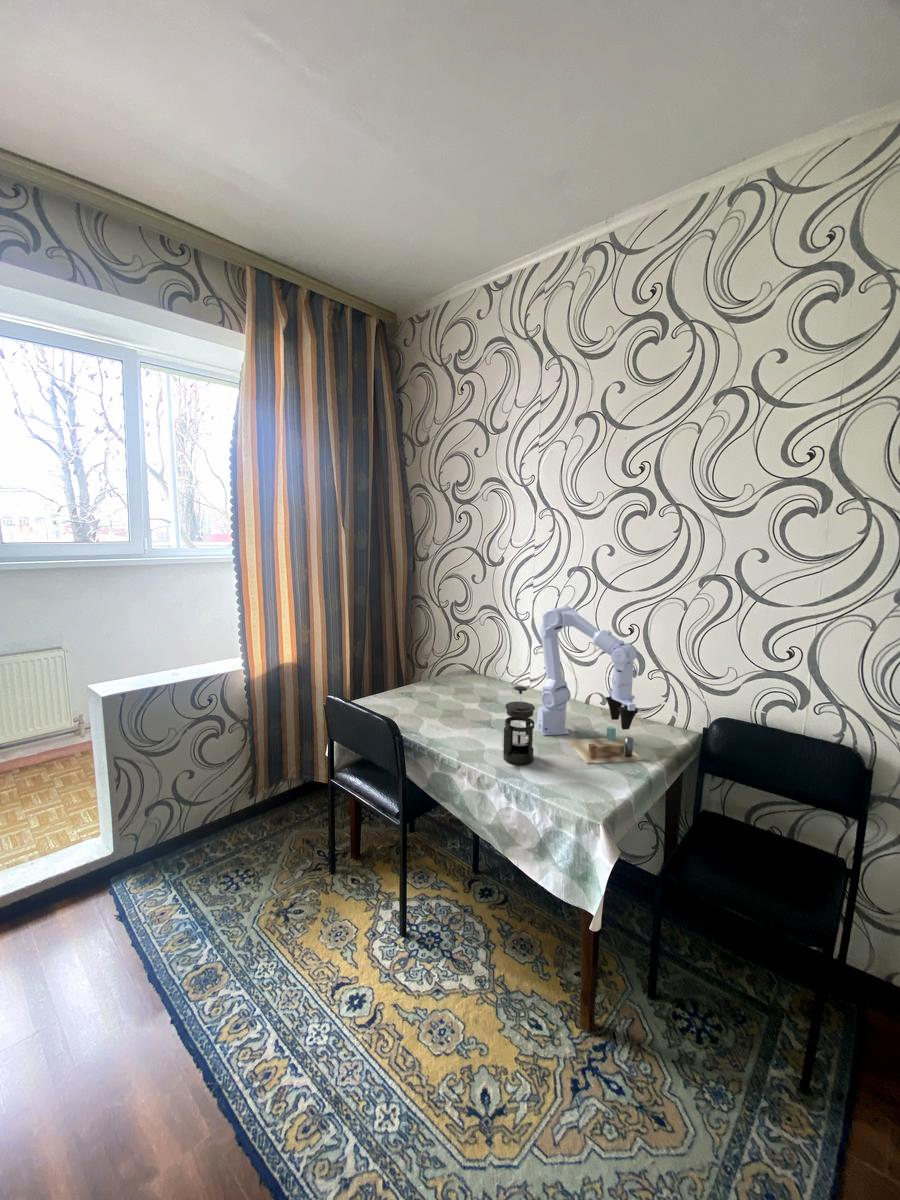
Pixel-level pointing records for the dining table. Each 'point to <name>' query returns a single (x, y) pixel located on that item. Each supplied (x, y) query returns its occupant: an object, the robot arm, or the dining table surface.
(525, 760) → the french press
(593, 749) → the tan wooden bar
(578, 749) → the board
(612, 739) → the post
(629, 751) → the hinge post
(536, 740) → the dining table surface
